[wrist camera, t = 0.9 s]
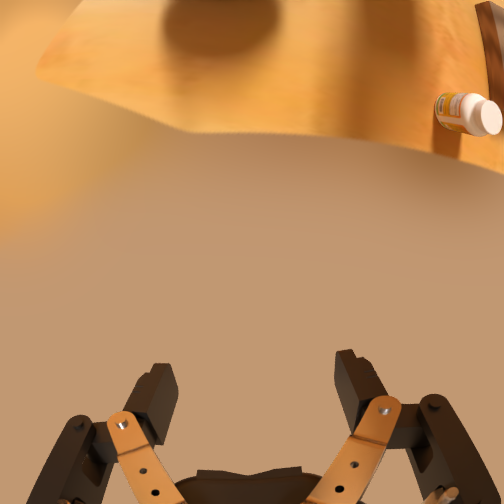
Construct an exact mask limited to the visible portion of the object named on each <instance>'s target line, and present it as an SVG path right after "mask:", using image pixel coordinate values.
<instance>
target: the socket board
mask: <svg viewBox="0 0 504 504" xmlns="http://www.w3.org/2000/svg"><path fill="white" fill-rule="evenodd" d="M475 8H476V11H477V15H478V19H479V24H480V28H481V33H482V38H483V43H484V49H485V55H486V62H487V70H488V79H489V91H490V101H493V102H494V103H495V104H497V106H498V107H499V109H500V111H502V112H504V9H503V8H502V7H500V6H498V5H496V4H494V3H493V2H491V1H486V2H483V3H480V4H476V5H475Z"/></svg>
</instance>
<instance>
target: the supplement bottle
mask: <svg viewBox="0 0 504 504" xmlns="http://www.w3.org/2000/svg"><path fill="white" fill-rule="evenodd" d="M435 113H436V117H437V119H438V121H439V122H440V124H441V125H442V126H443V127H445V128H446V129H449V130H452V131H457V132H461V133H465V134H469V135H473V136H477V137H482V136H485V135H487V134H491V135H495V134H498V133H499V132H500V130H501V127H502V114H501V111H500V109H499V107H498V106H497V104H495V103H494V102H493V101H489V100H486V99H485V98H484V97H482V96H481V95H478V94H474V93H443V94H441V95H440V96H439V97H438V98H437V100H436V103H435Z"/></svg>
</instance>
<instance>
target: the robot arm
mask: <svg viewBox="0 0 504 504" xmlns="http://www.w3.org/2000/svg"><path fill="white" fill-rule="evenodd" d="M334 380H335V386H336V389H337V393H338V395H339V398H340V401H341V404H342V407H343V410H344V413H345V416H346V419H347V422H348V425H349V428H350V431H351V434H352V435H350V436H349V437H348V439H347V440H346V442H345V444H344V445H343V447H342V448H341V450H340V452H339V453H338V455H337V457H336V458H335V459H334V461H333V463H332V464H331V465H330V467H329V469H328V470H327V471H326V473H325V474H324V476H323V477H322V476H319V475H315V474H311V473H302V469H301V466H299V467H291V468H281V469H273V470H270V471H266V472H262V473H258V474H254V475H249V476H247V475H241V474H236V473H231V472H226V471H213V470H197V475H196V476H194V477H190V478H186V479H183V480H181V481H179V482H177V483H175V484H174V482H173V481H172V479H171V478H170V476H169V475H168V473H167V472H166V470H165V469H164V467H163V465H162V464H161V462H160V460H159V459H158V457H157V455H156V454H155V452H154V450H153V449H154V446H155V445H163V444H164V441H165V438H166V435H167V431H168V428H169V424H170V422H171V418H172V415H173V412H174V408H175V405H176V402H177V399H178V386H177V383H176V380H175V377H174V374H173V371H172V368H171V365H170V364H169V363H155V364H154V365H153V367H152V369H151V371H150V373H145V374H144V375H142V376H141V377H140V378H139V379H138V381H137V383H136V385H135V387H134V389H133V391H132V393H131V395H130V397H129V399H128V401H127V403H126V405H125V407H124V409H123V411H120V412H117V413H114V414H113V415H112V416H110V417H109V419H108V421H106V422H96V423H92V421H91V420H90V418H89V417H87V416H85V415H77V416H74V417H72V418H71V419H69V421H68V422H67V423H66V425H65V427H64V429H63V431H62V433H61V434H60V436H59V438H58V440H57V442H56V444H55V446H54V447H53V449H52V451H51V453H50V455H49V457H48V459H47V461H46V463H45V465H44V467H43V469H42V471H41V473H40V475H39V477H38V479H37V481H36V483H35V485H34V487H33V489H32V492H31V494H30V496H29V499H28V501H27V503H26V504H101V503H102V500H103V497H104V493H105V490H106V487H107V484H108V481H109V478H110V474H111V472H112V468H113V465H114V463H118V462H119V463H120V466H121V468H122V470H123V472H124V475H125V477H126V479H127V481H128V483H129V485H130V487H131V489H132V491H133V493H134V495H135V497H136V499H137V501H138V503H139V504H365V503H364V502H362V501H360V500H361V498H362V497H363V495H364V493H365V491H366V489H367V488H368V485H369V484H370V482H371V480H372V478H373V476H374V474H375V472H376V470H377V468H378V466H379V464H380V462H381V460H382V458H383V455H384V453H385V451H386V449H404V448H405V449H406V452H407V454H408V457H409V460H410V463H411V465H412V468H413V471H414V474H415V477H416V479H417V482H418V485H419V488H420V491H421V494H422V497H423V501H424V502H423V503H422V504H501V498H500V495H499V493H498V491H497V488H496V487H495V484H494V482H493V480H492V478H491V476H490V474H489V472H488V470H487V468H486V466H485V464H484V462H483V461H482V459H481V457H480V455H479V453H478V451H477V449H476V447H475V446H474V444H473V442H472V440H471V438H470V437H469V435H468V433H467V432H466V430H465V428H464V426H463V425H462V423H461V421H460V420H459V418H458V416H457V415H456V413H455V411H454V410H453V408H452V407H451V405H450V403H449V402H448V400H447V399H446V398H445V397H444V396H441V395H439V394H429V395H427V396H425V397H423V398H422V400H421V401H420V404H401V403H400V402H399V400H397V399H396V398H394V397H392V396H389V395H388V393H387V391H386V390H385V388H384V386H383V384H382V383H381V381H380V379H379V377H378V376H377V374H376V371H374V368H373V366H372V364H371V363H370V362H369V361H368V360H366V359H365V358H364V357H361V358H356V356H355V354H354V352H353V350H352V349H348V350H342V351H337V352H336V357H335V372H334ZM83 461H84V462H83Z"/></svg>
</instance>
